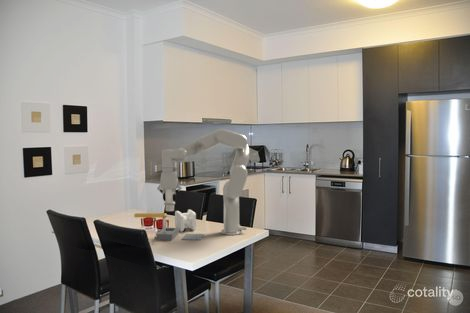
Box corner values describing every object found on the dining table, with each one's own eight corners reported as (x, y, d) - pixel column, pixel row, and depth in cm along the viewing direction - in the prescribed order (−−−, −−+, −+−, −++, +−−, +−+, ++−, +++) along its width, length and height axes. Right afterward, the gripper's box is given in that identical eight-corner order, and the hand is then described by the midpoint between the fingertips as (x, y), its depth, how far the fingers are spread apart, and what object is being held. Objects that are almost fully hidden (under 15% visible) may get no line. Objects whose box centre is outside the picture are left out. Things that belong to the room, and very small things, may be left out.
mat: (204, 234, 226) (204, 233, 226) (200, 240, 214) (200, 239, 214) (186, 234, 227) (186, 233, 227) (181, 239, 215) (181, 238, 215)
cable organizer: (196, 231, 235) (196, 213, 234) (180, 233, 231) (179, 214, 230) (190, 226, 249) (189, 208, 248) (174, 228, 245) (173, 210, 244)
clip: (135, 216, 216) (135, 213, 216) (167, 216, 216) (167, 213, 216) (134, 217, 213) (134, 214, 213) (166, 217, 213) (166, 214, 213)
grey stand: (178, 233, 230) (178, 212, 229) (171, 240, 214) (171, 217, 213) (164, 233, 231) (164, 212, 230) (156, 240, 215) (155, 217, 214)
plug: (176, 209, 228) (176, 188, 227) (173, 211, 221) (173, 189, 221) (166, 209, 228) (165, 188, 228) (163, 211, 222) (162, 189, 221)
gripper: (184, 169, 227) (185, 199, 227) (156, 169, 228) (157, 199, 229) (181, 170, 219) (182, 201, 220) (152, 170, 221) (153, 201, 222)
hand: (169, 200), depth 225 cm, fingers closed on plug, 5 cm apart
